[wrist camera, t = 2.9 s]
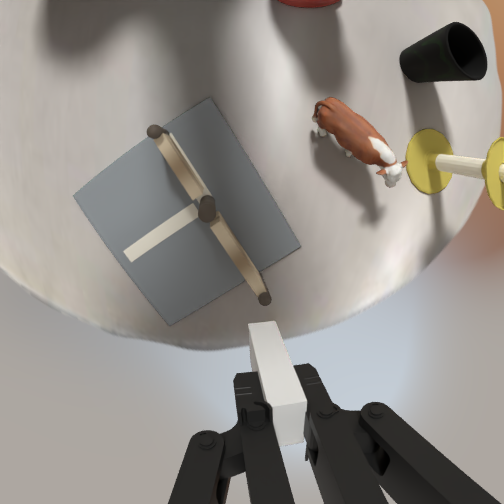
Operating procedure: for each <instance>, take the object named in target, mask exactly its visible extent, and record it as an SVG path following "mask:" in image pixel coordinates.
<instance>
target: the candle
mask: <svg viewBox="0 0 504 504" xmlns="http://www.w3.org/2000/svg"><path fill="white" fill-rule="evenodd" d="M406 160H407V161H408V164H407V165H406V168H407V172H408V175H409V177H410V180H411V182H412V183H413V184H414V185H415V186H416V187H417V189H418V190H420V191H422V192H425V193H427V194H432V193H438V192H440V191H441V190H442V189H444V188H445V187H446V186H447V184H448V183H449V181H450V179H451V177H452V173H454V174H459V175H464V176H469V177H474V178H479V179H484V180H485V185H486V188H487V193H488V196H489V198H490V199H491V201H492V203H493V204H494V205H495V206H496V207H498V208H499V209H501V210H504V137H499V138H498V139H497V140H496V141H494V142H493V143H492V145H491V147H490V149H489V151H488V153H487V158H486V160H485V159H478V158H470V157H462V156H454V155H453V152H452V149H451V146H450V143H449V142H448V141H447V139H446V138H445V137H444V136H443V134H441V133H439V132H438V131H436V130H434V129H423V130H421V131H419V132H418V133H416V134H414V136H413V138H412V139H411V141H410V142H409V144H408V148H407V152H406Z"/></svg>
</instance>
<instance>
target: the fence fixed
mask: <svg viewBox="0 0 504 504" xmlns="http://www.w3.org/2000/svg"><path fill="white" fill-rule="evenodd" d="M147 135H148V136H149V137H150V138H152V139H153V140H154V142H155V144H156V145H157V147H158V148H159V150H160V151H161V153H162V154H163V156H164V157H165V159H166V161H167V162H168V164H169V165H170V167H171V168H172V170H173V171H174V173H175V174H176V176H177V177H178V179H179V180H180V182H181V183H182V185H183V186H184V188H185V189H186V191H187V193H188V194H189V196H190V197H191V199H192V200H195V199H196V198H198V197H199V196H201V195H202V194H203V190H204V187H203V185H202V184H201V182H200V181H199V179H198V178H197V176H196V175H195V173H194V172H193V170H192V169H191V167H190V165H189V164H188V162H187V161H186V159H185V158H184V156H183V155H182V153H181V152H180V150H179V149H178V147H177V145H176V144H175V142H174V141H173V139H172V138H171V136H169V135H170V134H169V132H168V131H167V130H166V129H164V128H162V127H160V126H158V125H151V126H149V127H148V129H147ZM198 217H199V219H200V220H201V221H202V222H205V223H209V222H212V221H213V220H214V219H215V217H216V207H215V200H214V198H213V197H212V196H210V195H205V196H203V197H202V198H201V200H200V205H199V210H198Z"/></svg>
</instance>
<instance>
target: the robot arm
mask: <svg viewBox="0 0 504 504" xmlns="http://www.w3.org/2000/svg"><path fill="white" fill-rule="evenodd" d="M248 329H249V344H250V359H251V367H252V371H253V372H246V373H237V374H236V376H235V378H234V380H233V382H234V391H235V400H236V408H237V415H238V421H237V424H236V425H235V426H234V427H233V428H232V429H231V430H229V431H227V432H224V433H221V434H219V433H217V432H215V431H210V430H206V431H201V432H198V433H196V434H195V435H193V436H192V438H191V439H190V442H189V445H188V448H187V450H186V453H185V456H184V459H183V462H182V465H181V467H180V470H179V473H178V476H177V479H176V482H175V485H174V488H173V491H172V493H171V496H170V499H169V502H168V504H225V503H226V498H227V493H228V488H229V484H230V479H231V477H232V476H235V475H237V474H240V473H243V472H245V471H246V477H247V484H248V490H249V496H250V502H251V504H295V502H294V499H293V495H292V492H291V488H290V484H289V481H288V477H287V474H286V470H285V467H284V462H283V459H282V455H281V451H280V448H279V447H280V446H286V445H292V444H298V443H303V442H304V441H303V440H304V437H305V439H306V442H307V445H306V455H305V461H307V460H308V458H309V460H310V463H311V466H312V470H313V472H314V475H315V478H316V481H317V484H318V487H319V490H320V493H321V495H322V499H323V502H324V504H388V502H387V500H386V498H385V496H384V494H383V492H382V490H381V488H380V486H381V487H382V488H383V489H384V490H385V491H386V492H387V493H388V494H389V495H390V497H391V498H392V499H393V500H394V501H395V502H396V503H397V504H501V503H500V502H499V501H497V500H496V499H495V498H494V497H493V496H491V495H490V494H489V493H488V492H486V491H485V490H484V489H483V488H482V487H481V486H479V485H478V484H477V483H476V482H474V481H473V480H472V479H471V478H470V477H469V476H467V475H466V474H465V473H464V472H463V471H461V470H460V469H459V468H458V467H457V466H456V465H455V464H453V463H452V462H451V461H450V460H449V459H448V458H446V457H445V456H444V455H443V454H442V453H441V452H439V451H438V450H437V449H436V448H435V447H434V446H433V445H431V444H430V443H429V442H428V441H427V440H426V439H424V438H423V437H422V436H421V435H420V434H419V433H418V432H417V431H415V430H414V429H413V428H412V427H411V426H410V425H408V424H407V423H406V422H405V421H404V420H403V419H402V418H401V417H399V416H398V415H397V414H396V413H395V412H394V411H393V410H392V409H391V408H389V407H388V406H387V405H385V404H384V403H380V402H371V403H368V404H366V405H365V406H363V408H362V409H361V411H349V410H343V409H341V408H340V407H339V406H338V405H336V404H334V403H333V402H332V401H331V399H330V397H329V395H328V393H327V391H326V389H325V387H324V385H323V383H322V381H321V378H320V377H319V375H318V372H317V370H316V369H315V368H314V367H313V366H311V365H310V364H309V363H307V364H302V365H295V366H293V364H292V362H291V359H290V357H289V354H288V352H287V349H286V347H285V344H284V342H283V339H282V337H281V334H280V332H279V329H278V327H277V324H276V322H275V321H269V322H260V323H250V324H248ZM378 483H379V484H378ZM379 485H380V486H379Z"/></svg>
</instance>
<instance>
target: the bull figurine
mask: <svg viewBox="0 0 504 504" xmlns="http://www.w3.org/2000/svg"><path fill="white" fill-rule="evenodd" d="M318 108H319V111H318ZM317 112H318V115H317ZM312 120H313V121H314V122H317V124H318V125H319V127H318V129H317V131H319V135H320V136H321V137H325V136H327V132H326V131H328V132H329V133H331V134H334V136H335V137H336V140H337V142H338V143H339V144H340V145H341V146H342V147H343V148H345V149H347V150H345V152H346V156H347V157H351V156H352V155H353V156H354V157H356V158H357V159H358V160H361V161H362V162H363V163H365V164H369V165H372V164H376V165H377V166H379V167H380V168H381V170H380V171H378V172H377V173H376V174H378V175H382V176H383V178H384V179H385V184H386V186H388V187H389V188H391V187H394V186H395V185H396V182H397V181H398V180H399V179H400V178H401V175H402V169H401V168H404V167H405V166H406V165H407V164H408V161H407V160H406V161H403V162H401V163H397V161H396V157H395V155H394V153H393V151H392V150H391V149H390V148H389V146H388V144H387V143H386V141H385V139H384V138H383V137H382V136H381V135H380V134H379V133H378V132H377V131H376V129H375V128H374V127H373V126H372V125H371V124H370V123H369V122H368V121H366V120H365V119H364V118H363V117H362V116H360V115H359V114H357V113H355V112H353V111H352V110H351V109H350V108H349V107H348V106H347V105H345V104H344V103H343V102H341V101H339V100H337V99H335V98H332V97H329V98H327V99H325V101H319V102H317V104H316V105H315V111H314V115H313V116H312ZM325 129H326V130H325Z"/></svg>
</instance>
